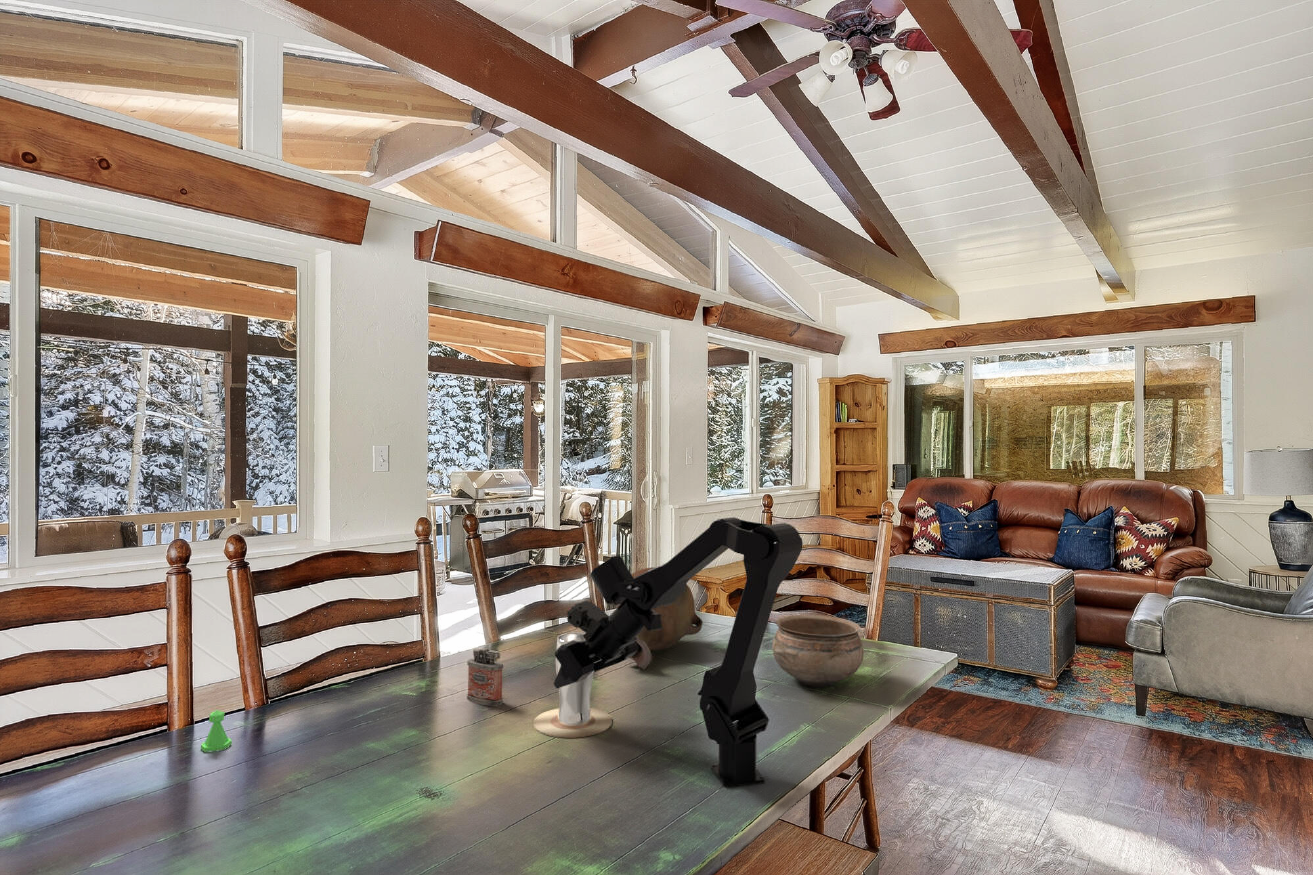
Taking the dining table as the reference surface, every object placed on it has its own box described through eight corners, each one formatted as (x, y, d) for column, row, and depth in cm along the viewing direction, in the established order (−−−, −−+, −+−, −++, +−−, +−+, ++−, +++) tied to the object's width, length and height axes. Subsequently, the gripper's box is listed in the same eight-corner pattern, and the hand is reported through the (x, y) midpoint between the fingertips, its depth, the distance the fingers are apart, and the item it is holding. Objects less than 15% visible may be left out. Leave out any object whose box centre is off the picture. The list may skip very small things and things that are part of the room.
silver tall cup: (587, 729, 126) (588, 643, 127) (549, 726, 128) (550, 640, 128) (598, 715, 133) (599, 633, 133) (562, 712, 135) (563, 630, 135)
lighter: (462, 699, 142) (463, 648, 142) (474, 694, 145) (475, 644, 145) (495, 707, 138) (495, 654, 138) (506, 701, 141) (507, 649, 141)
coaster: (619, 733, 126) (619, 731, 126) (537, 741, 122) (537, 739, 122) (603, 705, 139) (603, 703, 139) (530, 711, 136) (530, 709, 136)
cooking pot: (820, 661, 170) (820, 608, 170) (890, 682, 155) (890, 625, 155) (743, 681, 154) (744, 624, 155) (813, 707, 140) (814, 643, 140)
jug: (641, 633, 194) (597, 686, 166) (624, 562, 192) (576, 605, 164) (713, 624, 187) (680, 679, 159) (696, 552, 185) (659, 594, 157)
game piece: (198, 754, 116) (199, 716, 116) (202, 744, 120) (203, 707, 120) (230, 749, 118) (230, 712, 118) (232, 740, 122) (233, 704, 122)
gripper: (625, 580, 137) (576, 631, 142) (564, 598, 121) (512, 655, 126) (661, 628, 133) (610, 679, 138) (603, 652, 116) (548, 709, 122)
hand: (571, 678), depth 131 cm, fingers open, 9 cm apart
